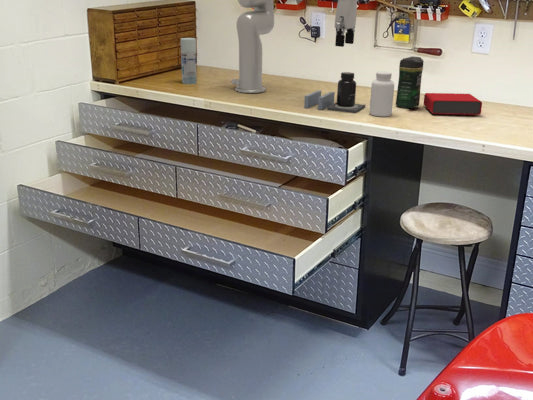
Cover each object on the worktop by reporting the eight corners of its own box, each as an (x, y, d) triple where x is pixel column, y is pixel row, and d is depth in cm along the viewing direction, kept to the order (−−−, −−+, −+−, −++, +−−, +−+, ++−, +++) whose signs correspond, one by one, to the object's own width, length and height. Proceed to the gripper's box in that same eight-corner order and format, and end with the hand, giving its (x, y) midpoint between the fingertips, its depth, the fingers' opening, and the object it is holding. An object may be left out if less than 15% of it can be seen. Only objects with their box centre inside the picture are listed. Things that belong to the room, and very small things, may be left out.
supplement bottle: (354, 107, 233) (356, 75, 228) (335, 106, 234) (337, 74, 230) (355, 104, 239) (357, 72, 235) (337, 103, 240) (339, 71, 236)
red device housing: (469, 106, 245) (471, 93, 243) (480, 114, 232) (482, 101, 230) (423, 105, 245) (424, 92, 243) (431, 113, 232) (432, 100, 230)
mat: (327, 109, 234) (327, 106, 234) (337, 104, 243) (337, 101, 243) (355, 113, 230) (355, 110, 229) (365, 107, 239) (365, 104, 238)
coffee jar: (412, 109, 236) (417, 59, 230) (392, 107, 241) (396, 57, 234) (422, 105, 244) (427, 56, 237) (402, 102, 248) (407, 54, 242)
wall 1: (304, 107, 237) (304, 95, 235) (317, 101, 248) (317, 90, 246) (307, 108, 236) (308, 96, 235) (320, 102, 247) (321, 90, 246)
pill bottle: (386, 118, 223) (390, 75, 218) (365, 115, 227) (368, 72, 222) (395, 113, 229) (398, 72, 224) (374, 111, 233) (377, 70, 228)
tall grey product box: (180, 84, 278) (178, 38, 271) (194, 83, 281) (192, 37, 274) (184, 87, 273) (183, 39, 266) (199, 86, 276) (197, 39, 269)
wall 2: (317, 109, 235) (318, 97, 233) (330, 103, 246) (331, 91, 244) (321, 109, 234) (322, 97, 232) (334, 103, 245) (334, 92, 243)
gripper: (347, -6, 236) (343, 41, 242) (329, -4, 222) (325, 46, 228) (366, -5, 233) (361, 43, 239) (349, -3, 219) (345, 48, 225)
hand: (344, 44), depth 234 cm, fingers open, 9 cm apart
